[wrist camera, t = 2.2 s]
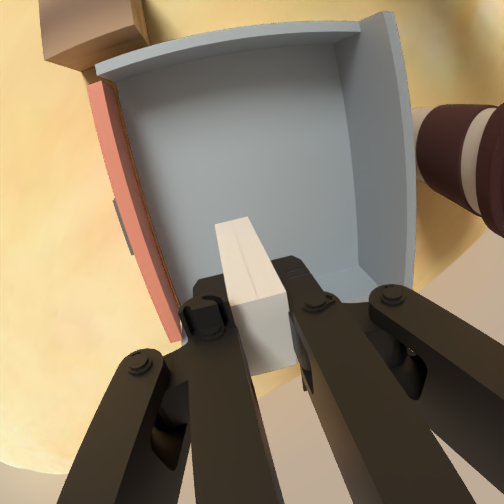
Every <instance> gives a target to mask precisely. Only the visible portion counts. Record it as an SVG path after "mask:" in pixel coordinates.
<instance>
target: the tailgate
mask: <svg viewBox="0 0 504 504" xmlns="http://www.w3.org/2000/svg"><path fill="white" fill-rule="evenodd" d="M87 90H88V95H89V100H90V105H91V109H92V114H93V118H94V122H95V127H96V131H97V135H98V139H99V143H100V146H101V150H102V154H103V158H104V161H105V165H106V169H107V172H108V176H109V179H110V182H111V186H112V189H113V192H114V196H115V198H114V200H113V203H114V206H115V209H116V212H117V215H118V218H119V221H120V224H121V227H122V230H123V233H124V236H125V239H126V242H127V244H128V247H129V250H130V253H131V255H135V258H136V260H137V263H138V266H139V268H140V271H141V273H142V276H143V279H144V281H145V284H146V286H147V289H148V291H149V294H150V296H151V299H152V301H153V304H154V306H155V308H156V311H157V313H158V315H159V318H160V320H161V322H162V325H163V327H164V329H165V331H166V334H167V336H168V338H169V340H170V343H173V342H176V341H180V340H182V333H181V325H180V318H179V315H178V312H179V310H178V305H177V302H176V300H175V297H174V294H173V292H172V289H171V286H170V283H169V281H168V278H167V275H166V272H165V269H164V266H163V264H162V261H161V258H160V255H159V252H158V249H157V246H156V243H155V240H154V237H153V234H152V231H151V228H150V224H149V221H148V218H147V215H146V212H145V208H144V205H143V202H142V198H141V195H140V191H139V188H138V185H137V181H136V178H135V174H134V170H133V167H132V163H131V159H130V155H129V152H128V148H127V144H126V140H125V136H124V132H123V128H122V124H121V119H120V115H119V111H118V106H117V102H116V97H115V93H114V89H113V88H112V87H110V86H109V85H107V84H106V83H105V82H103V81H102V80H101V81H98V82H95V83H93V84H90V85H87Z"/></svg>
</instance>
